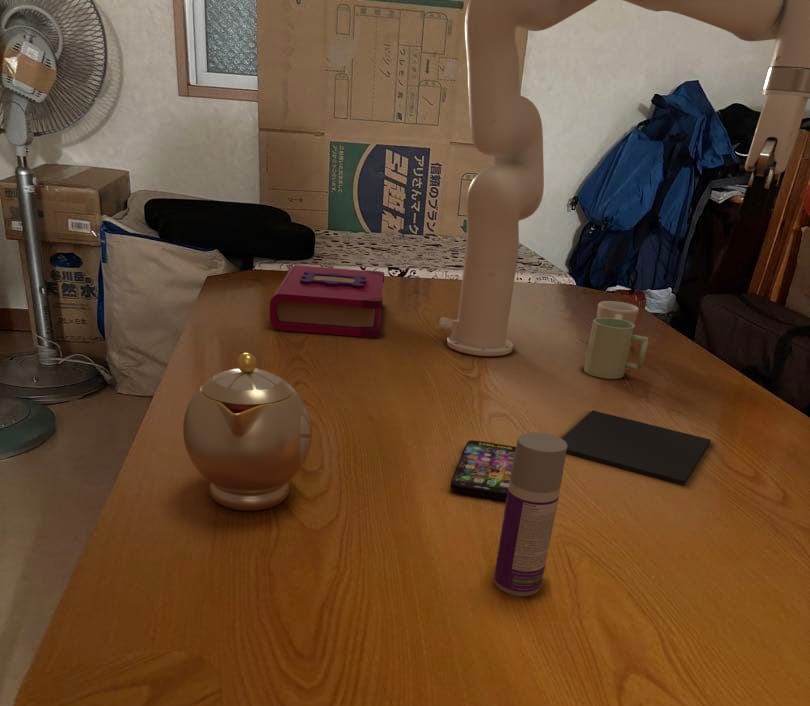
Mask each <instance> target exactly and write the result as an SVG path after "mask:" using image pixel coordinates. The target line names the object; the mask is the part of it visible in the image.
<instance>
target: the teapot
mask: <svg viewBox="0 0 810 706" xmlns="http://www.w3.org/2000/svg"><path fill="white" fill-rule="evenodd" d="M257 367H258V361H257V359H256V357H255V356H254V354H251V353H249V352H244V353H242V354H240V355H239V356H238V357H237V359H236V367H235V368H231V369H227V370H224V371H221V372H219V373H217V374H215V375H213V376H211V377H210V378H209V379H208V380H206V381H205V382H203V383H202V384H201V385H200V387H199V388H198V389H197V390H196V391H195V393H194V394H193V395H192V396H191V399H190V400H189V402H188V405H187V407H186V410H185V412H184V413H185V414H184V416H183V417H184V418H183V426H182V427H183V428H182V429H183V430H182V431H183V432H182V434H183V442H184V446H185V449H186V452H187V454H188V457H189V459H190V461H191V462H192V465H193V466H194V467H195V468H196V471H198V472H199V474H201V475H202V476H203V478H205V480H207V481H208V482H209V488H208V489H209V494H210V496H211V498H212V499H213V500H214V502H216V503H217V504H219V505H221V506H222V507H225V508H228V509H231V510H235V511H243V512H244V511H245V512H248V511H249V512H253V511H254V512H256V511H262V510H267V509H268V510H269V509H271V508H274V507H276V506H278V505H279V504H281V503H282V502H284V501H285V500H286V499H287V498H288V496H289V493H290V484H289V482H290V481H291V480H292V479H293V478H294V477H295V476H296V475H297V474H298V472H299V471H300V470H301V469H302V467H303V465H304V464H305V462H306V460H307V458H308V455H309V453H310V448H311V444H312V439H313V438H312V437H313V434H312V433H313V429H312V421H311V417H310V413H309V410H308V408H307V406H306V404H305V402H304V399H303V398H302V397H301V395H300V394H299V392H298V391H297V390H296V389H295V388H294V387H293V386H292V385H291V384H290V383H288V381H286V380H285V379H283V378H282V377H281V376H278V375H276V374H274V373H272V372H270V371H268V370H264V369H260V368H257Z"/></svg>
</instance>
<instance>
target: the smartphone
mask: <svg viewBox="0 0 810 706" xmlns="http://www.w3.org/2000/svg"><path fill="white" fill-rule="evenodd" d="M515 450H516V446H512V445H507V444H501V443H500V444H499V443H495V442H494V443H493V442H489V441H481V440H473V439H471V440H468V441H467V443H466V444H465V446H464V448H463V450H462V453H461V456H460V457H459V460H458V463H457V466H456V467H455V471H454V473H453V475H452V478H451V482H450V489H451V490H452V491H454V492H456V493H460V494H466V495H471V496H477V497H483V498H489V499H495V500H502V501H506V498H507V492H508V486H509V481H510V476H511V471H512V466H513V460H514V455H515Z"/></svg>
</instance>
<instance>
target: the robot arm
mask: <svg viewBox="0 0 810 706" xmlns="http://www.w3.org/2000/svg"><path fill="white" fill-rule="evenodd" d="M623 1H624V2H627V3H629V4H631V5H635V6H638V7H640V8H643V9H646V10H648V11H652V12H671V13H674V14H678V15H682V16H685V17H688V18H690V19H693V20H697V21H699V22H703V23H705V24H707V25H710V26H713V27H715V28H718V29H721V30H724V31H726V32H728V33H731V34H732V35H734V36H735V37H736V38H738V39H740V40H742V41H744V42H762V41H771V40H775V41H774V44H773V47H772V51H771V54H770V58H769V62H768V65H767V67H768V68H767V69H766V73H765V77H764V81H763V85H762V89H761V92H760V95H762V96H766V98H765V101H764V103H763V106H762V110H761V112H760V114H759V115H760V116H759V119H758V121H757V125H756V128H755V131H754V134H753V137H752V142H751V145H750V148H749V151H748V154H747V157H746V161H745V164H744V169H745V171H746V172H751V175H750V177H749V181H748V184H747V186H746V188H745V192H744V195H743V199H742V202H741V206H740V210H739V217H742V218H747V219H748V218H749V219H757V220H760V219H762V218H763V216H764V214H765V215H770V214H771V212H772V209H773V206H774V202H775V199H776V195H777V192H778V189H779V185H778V184H779V182H780V177H781V174H782V173H783V172H785V171H786V169H787V166H788V163H789V161H790V159H791V155H792V152H793V150H794V147H795V143H796V140H797V137H798V134H799V131H800V128H801V124H802V122H803V121H802V120H803V117H804V114H805V111H806V107H807V104H808V101H809V100H810V0H623ZM595 2H598V0H468V2H467V6H466V10H465V17H464V18H465V20H464V40H465V41H464V42H465V50H466V51H465V52H466V65H467V92H468V95H467V96H468V111H469V129H470V139H471V142H472V144H473V146H474V148H475V149H476V151H478V152H480V153H481V154H482V155H485V156H489V157H492V161H493V165H490V166H488V167H485V168H484V169H482V170H480V171H479V172H478V173H477V174H476V175H475V176H474V178H473V179H472V181H471V183H470V185H469V187H468V190H467V194H466V200H465V201H466V202H465V203H466V206H465V209H466V237H465V238H466V239H465V248H464V259H463V270H462V278H461V286H460V287H461V288H460V297H459V304H458V313H457V318H455V319H451V318H450V317H446V316H445V317H444V316H441V317H440V318H439V321H438V328H439V329H440V330H443V331H449V333H450V335H449V336H447V340H446V345H447V346H448V347H449V348H450V349H452V350H454V351H456V352H459V353H463V354H467V355H472V356H479V357H501V356H506V355H509V354H511V353H512V352H513V348H514V343H513V342H512V341H510V340H509V339H507V334H508V333H507V332H508V326H509V318H510V312H511V306H512V305H511V304H512V299H513V291H514V285H515V278H516V271H517V264H518V257H519V256H518V255H519V248H520V247H519V246H520V235H519V234H520V233H519V232H520V230H519V229H520V228H519V223H520V221H522V220H525V219H528V218H530V217H531V216H533V214H535V212H536V211H537V210H538V208H539V207H540V205H541V203H542V201H543V196H544V190H545V174H544V173H545V172H544V132H543V131H544V129H543V123H542V122H543V121H542V118H541V115H540V112H539V110H538V108H537V106H536V105H535V104H534V103H533V101H531V100H530V99H529V98H527V97H526V96H524V95H521V85H520V84H521V83H520V57H519V51H518V47H517V42H516V29H517V28H520V29H523V30H526V31H530V32H540V31H545V30H547V29H550V28H552V27H554V26H556V25H558V24H559V23H562V22H563V21H564V20H567V19H568V18H570V17H571V16H573V15H575V14H577V13H579V12H580V11H582V10H584V9H585V8H587V7H589V6H591V5H592V4H594V3H595Z"/></svg>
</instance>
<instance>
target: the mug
mask: <svg viewBox="0 0 810 706" xmlns="http://www.w3.org/2000/svg"><path fill="white" fill-rule="evenodd" d="M635 329H636V325H635V324H633V323H631V322H628V321H625V320H621V319H616V318H597V317H596V318H594V319H593V320H592V326H591V330H590V333H589V339H588V345H587V350H586V353H585V354H586V355H585V360H584V367H583V371H584V372H585V373H586V374H588V375H590V376H592V377H596V378H600V379H607V380H618V379H622V378H623V377H625V373H626V369H630V370H634V371H641V370H643V365H644V362H645V358H646V353H647V349H648V346H649V345H648V344H649V340H650V339H649V337H648V336H644V335H638V334H635V331H636V330H635ZM633 341H634V342H638V343H641V345H640V348H639V349H640V350H639V354H638V358H637V363H633V362H629V361H628V360H629V356H630V352H631V348H632V342H633Z"/></svg>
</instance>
